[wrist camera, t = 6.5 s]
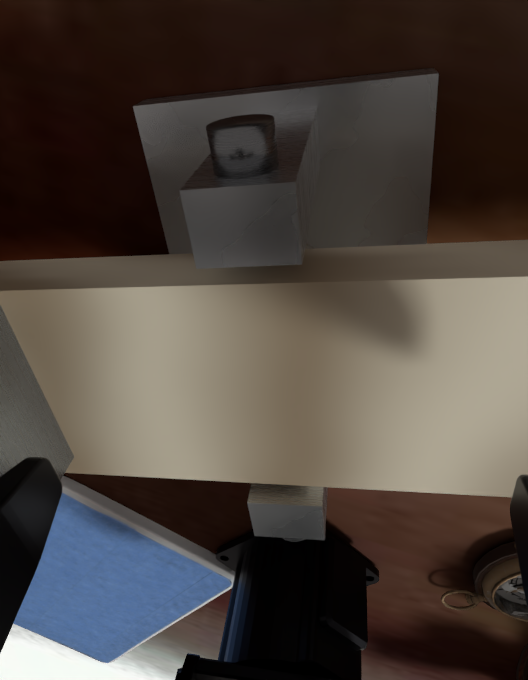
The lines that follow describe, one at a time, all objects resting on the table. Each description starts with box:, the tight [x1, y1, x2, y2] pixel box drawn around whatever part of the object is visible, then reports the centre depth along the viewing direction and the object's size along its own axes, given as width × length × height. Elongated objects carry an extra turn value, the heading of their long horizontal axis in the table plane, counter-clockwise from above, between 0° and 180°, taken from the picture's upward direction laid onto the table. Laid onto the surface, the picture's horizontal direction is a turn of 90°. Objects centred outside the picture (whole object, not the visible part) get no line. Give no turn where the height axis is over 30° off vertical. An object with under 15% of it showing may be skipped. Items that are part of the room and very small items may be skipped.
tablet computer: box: [14, 476, 235, 663], centre depth 32 cm, size 19×13×1 cm, turn 145°
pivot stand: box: [133, 68, 439, 542], centre depth 14 cm, size 8×12×7 cm
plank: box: [0, 240, 528, 497], centre depth 11 cm, size 26×6×3 cm, turn 97°
